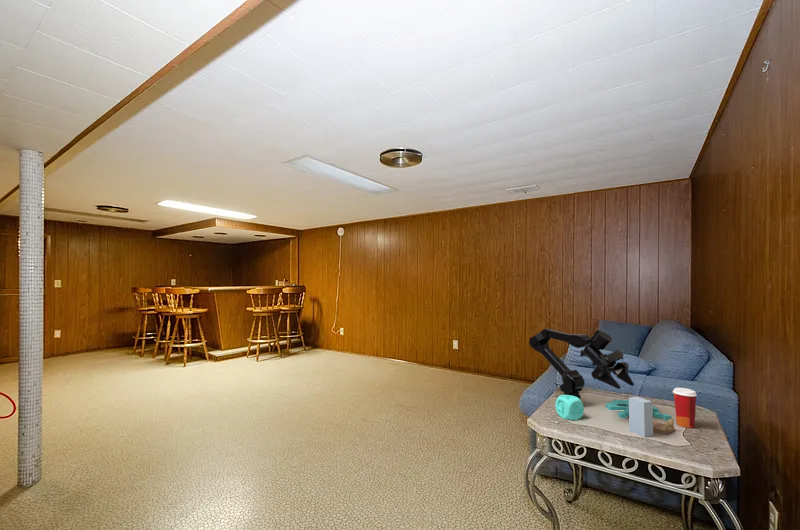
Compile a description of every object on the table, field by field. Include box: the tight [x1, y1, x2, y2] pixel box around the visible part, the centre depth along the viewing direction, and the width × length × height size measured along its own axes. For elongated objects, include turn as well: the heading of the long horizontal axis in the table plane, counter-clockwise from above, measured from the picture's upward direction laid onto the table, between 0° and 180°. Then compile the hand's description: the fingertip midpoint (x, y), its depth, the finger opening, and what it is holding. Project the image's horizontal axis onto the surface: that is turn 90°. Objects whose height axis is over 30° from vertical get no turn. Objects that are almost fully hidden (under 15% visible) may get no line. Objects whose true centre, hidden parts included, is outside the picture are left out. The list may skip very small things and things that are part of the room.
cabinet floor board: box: [653, 419, 675, 435], centre depth 141 cm, size 10×8×4 cm
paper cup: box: [672, 387, 698, 429], centre depth 144 cm, size 8×8×14 cm
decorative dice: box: [554, 394, 585, 421], centre depth 152 cm, size 8×8×8 cm
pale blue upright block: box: [628, 396, 654, 438], centre depth 136 cm, size 6×4×12 cm
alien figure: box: [605, 399, 673, 421], centre depth 160 cm, size 20×2×20 cm
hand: (626, 386), depth 145 cm, fingers open, 9 cm apart
